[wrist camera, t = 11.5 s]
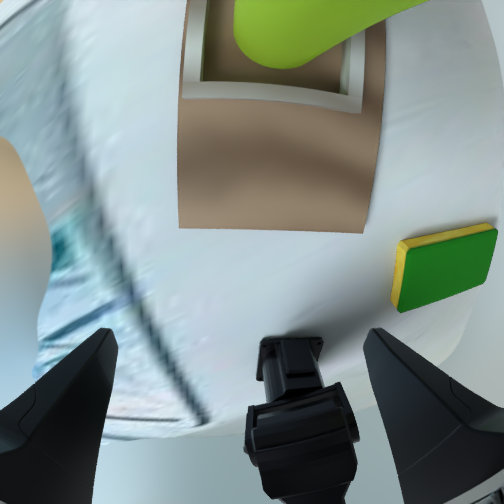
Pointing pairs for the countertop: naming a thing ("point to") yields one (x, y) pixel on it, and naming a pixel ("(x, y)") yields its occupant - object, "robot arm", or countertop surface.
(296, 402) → the robot arm
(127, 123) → the countertop surface
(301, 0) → the soap dispenser
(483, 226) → the dish sponge
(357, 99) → the walnut holder board
